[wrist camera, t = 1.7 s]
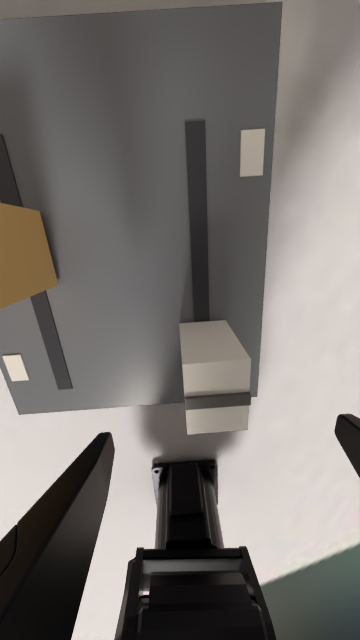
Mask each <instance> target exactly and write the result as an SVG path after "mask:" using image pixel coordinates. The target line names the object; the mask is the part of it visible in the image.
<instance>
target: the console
mask: <svg viewBox="0 0 360 640" xmlns="http://www.w3.org/2000/svg"><path fill="white" fill-rule="evenodd" d="M281 16H282V2H273V3H257V4H241V5H225V6H209V7H193V8H177V9H161V10H145V11H129V12H113V13H97V14H81V15H65V16H49V17H33V18H17V19H1V20H0V203H4V204H9V205H13V206H18V207H23V208H28V209H33V210H37V211H40V215H41V218H42V222H43V226H44V230H45V234H46V238H47V242H48V246H49V250H50V254H51V258H52V262H53V266H54V269H55V273H56V277H57V281H58V286H55V287H53V288H50V289H48V290H45V291H43V292H40V293H38V294H36V295H33V296H31V297H28V298H26V299H23V300H21V301H18V302H16V303H14V304H11V305H9V306H6V307H4V308H1V309H0V368H1V370H2V373H3V375H4V378H5V380H6V383H7V386H8V388H9V391H10V393H11V396H12V398H13V401H14V403H15V406H16V408H17V411H18V413H19V415H22V414H35V413H48V412H61V411H74V410H87V409H101V408H114V407H127V406H140V405H153V404H166V403H180V402H185V397H184V384H183V371H182V357H181V343H180V329H179V323H192V322H206V321H220V320H226V322H227V323H228V325H229V326H230V328H231V329H232V331H233V332H234V334H235V335H236V337H237V338H238V340H239V342H240V343H241V345H242V346H243V348H244V349H245V351H246V352H247V354H248V355H249V357H250V358H251V372H250V394H251V397H257V390H258V375H259V359H260V343H261V328H262V312H263V297H264V281H265V265H266V250H267V234H268V218H269V203H270V187H271V172H272V156H273V140H274V125H275V109H276V94H277V78H278V62H279V47H280V31H281Z"/></svg>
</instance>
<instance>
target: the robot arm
mask: <svg viewBox="0 0 360 640" xmlns="http://www.w3.org/2000/svg"><path fill="white" fill-rule="evenodd" d="M335 435H336V437H337V439H338V441H339V443H340V444H341V446H342V448H343V450H344V451H345V453H346V455H347V457H348V458H349V460H350V462H351V464H352V465H353V467H354V469H355V471H356V472H357V474H358V476H359V477H360V419H359V418H358V417H356V416H354V415H352V414H340V415H338V417H337V421H336V426H335ZM114 453H115V448H114V443H113V439H112V434H111V433H110V432H104V433H100V434H98V435H97V437H96V438H95V439H94V440H93V441H92V442H91V443H90V444H89V445H88V446H87V447H86V449H85V450H84V451H83V452H82V453H81V454H80V455H79V456H78V457H77V458H76V459H75V461H74V462H73V463H72V464H71V465H70V466H69V467H68V468H67V469H66V470H65V471H64V472H63V474H62V475H61V476H60V477H59V478H58V479H57V480H56V481H55V482H54V483H53V484H52V486H51V487H50V488H49V489H48V490H47V491H46V492H45V493H44V494H43V495H42V496H41V498H40V499H39V500H38V501H37V502H36V503H35V504H34V505H33V506H32V507H31V508H30V509H29V511H28V512H27V513H26V514H25V515H24V516H23V517H22V518H21V519H20V520H19V521H18V523H17V525H15V526H14V527H13V528H12V529H11V530H10V531H9V532H8V533H7V534H6V535H5V537H4V538H3V539H2V540H1V541H0V640H71V637H72V633H73V630H74V626H75V622H76V618H77V614H78V610H79V606H80V602H81V599H82V595H83V591H84V587H85V583H86V579H87V575H88V572H89V568H90V564H91V560H92V556H93V552H94V548H95V544H96V541H97V537H98V533H99V529H100V525H101V521H102V517H103V513H104V510H105V506H106V501H107V497H108V491H109V485H110V479H111V472H112V466H113V460H114ZM152 478H153V484H154V491H155V497H156V504H157V520H156V538H155V549H144V547H142V548H137V551H136V557H135V558H134V559H132V560H130V561H129V562H128V569H127V576H126V583H125V590H124V596H123V601H122V605H121V610H120V615H119V620H118V625H117V629H116V634H115V639H114V640H276V636H275V632H274V629H273V625H272V621H271V618H270V615H269V612H268V609H267V606H266V603H265V600H264V597H263V594H262V591H261V588H260V585H259V582H258V579H257V576H256V573H255V571H254V568H253V565H252V562H251V559H250V556H249V553H248V550H247V547H246V546H239V548H224V545H223V539H222V533H221V527H220V521H219V515H218V509H217V504H218V481H217V463H216V461H215V460H203V461H191V462H178V463H165V464H155V465H153V466H152ZM143 591H149V595H143Z"/></svg>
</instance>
